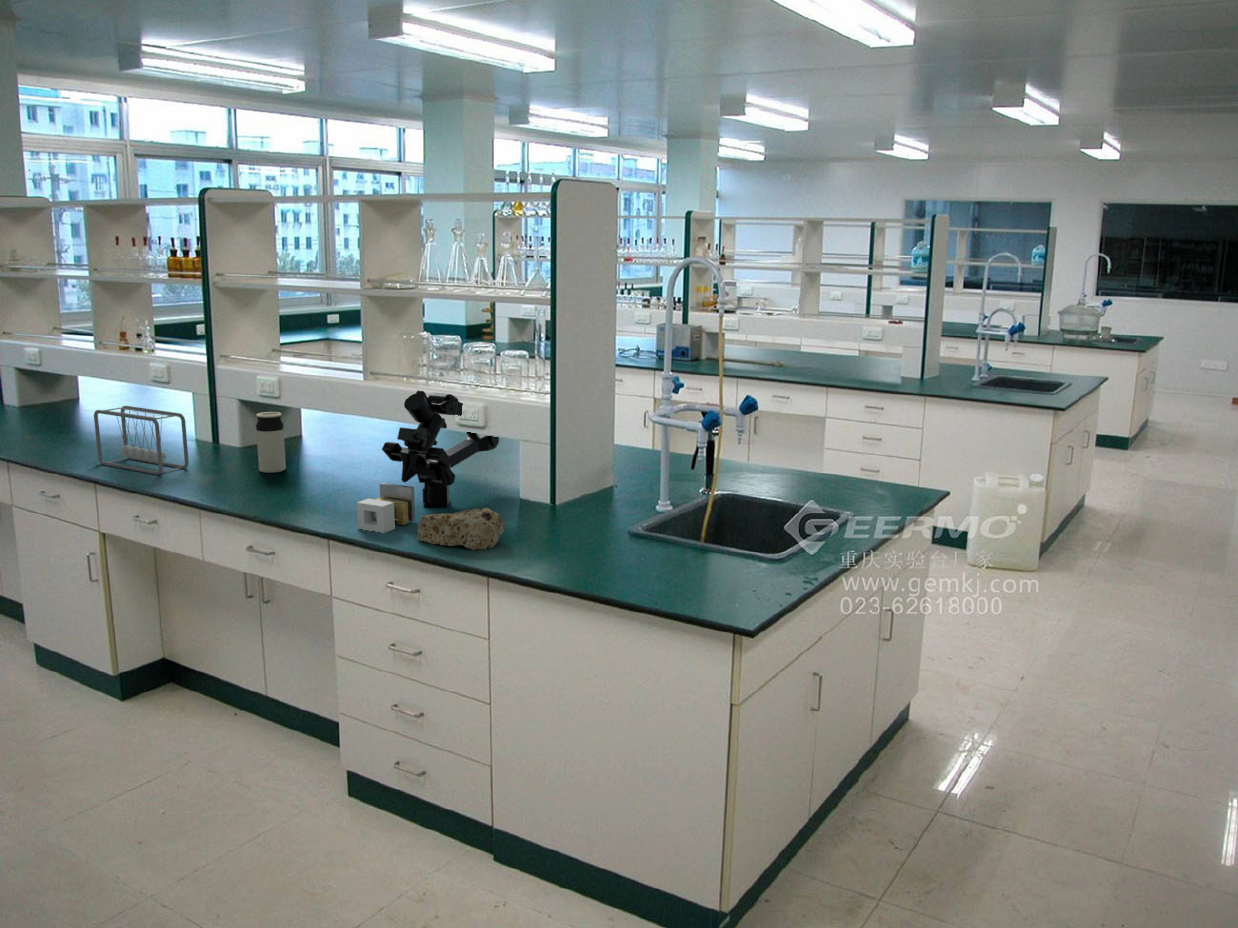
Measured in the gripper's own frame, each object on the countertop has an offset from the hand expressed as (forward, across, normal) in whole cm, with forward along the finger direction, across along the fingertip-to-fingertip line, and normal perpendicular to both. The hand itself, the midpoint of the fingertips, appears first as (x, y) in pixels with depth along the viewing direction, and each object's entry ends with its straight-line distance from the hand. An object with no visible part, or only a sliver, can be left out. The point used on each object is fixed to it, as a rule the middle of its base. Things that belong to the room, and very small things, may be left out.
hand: (403, 481), depth 261 cm
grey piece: (+12, 0, +2) cm, 12 cm away
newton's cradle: (0, -107, +14) cm, 108 cm away
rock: (+14, +24, 0) cm, 28 cm away
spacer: (+11, 0, +3) cm, 11 cm away
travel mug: (-10, -69, +25) cm, 74 cm away
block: (+15, 0, -2) cm, 15 cm away
